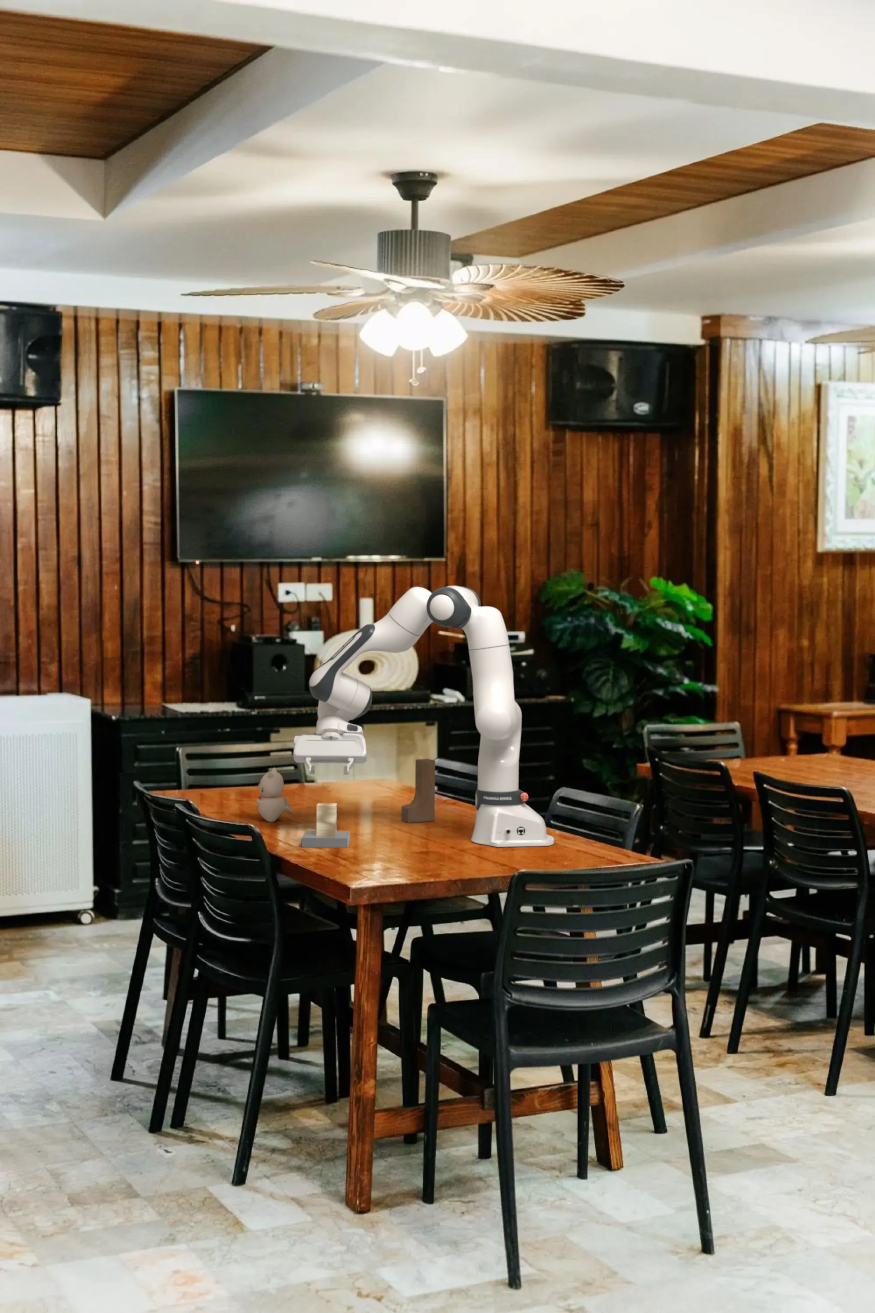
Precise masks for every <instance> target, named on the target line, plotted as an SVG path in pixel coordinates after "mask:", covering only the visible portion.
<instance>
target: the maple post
mask: <svg viewBox="0 0 875 1313" xmlns="http://www.w3.org/2000/svg"><path fill="white" fill-rule="evenodd" d="M337 805H338V803H337V802H336V803H335V802H331V803H330V802H327V803H326V802H325V803H324V802H318V803H317V804H316V831H317V832H316V836H336V833H337V831H338V830H337V828H338V827H337V824H338V823H337V820H338V819H337V818H338V817H337V815H338V814H337V810H338V806H337Z"/></svg>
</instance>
